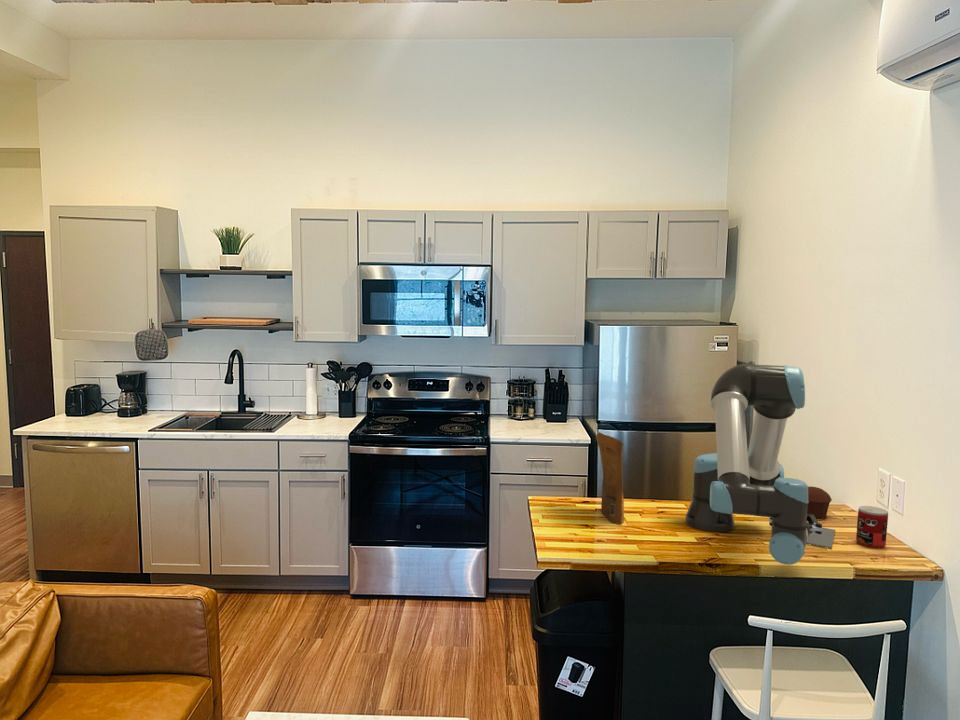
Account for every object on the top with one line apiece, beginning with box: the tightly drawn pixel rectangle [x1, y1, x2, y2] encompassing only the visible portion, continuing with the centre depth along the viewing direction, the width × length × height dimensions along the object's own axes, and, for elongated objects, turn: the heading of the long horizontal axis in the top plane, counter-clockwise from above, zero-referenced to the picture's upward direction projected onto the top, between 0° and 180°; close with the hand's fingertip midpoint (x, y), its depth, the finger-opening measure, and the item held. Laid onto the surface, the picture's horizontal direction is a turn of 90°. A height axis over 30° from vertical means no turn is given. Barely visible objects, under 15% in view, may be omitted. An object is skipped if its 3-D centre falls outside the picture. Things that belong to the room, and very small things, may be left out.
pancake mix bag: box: [595, 431, 625, 525], centre depth 224 cm, size 7×19×28 cm, turn 8°
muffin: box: [807, 486, 833, 520], centre depth 233 cm, size 12×11×10 cm
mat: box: [806, 527, 836, 549], centre depth 213 cm, size 16×19×1 cm
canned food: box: [855, 505, 889, 549], centre depth 205 cm, size 8×8×11 cm
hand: (801, 509), depth 190 cm, fingers closed
